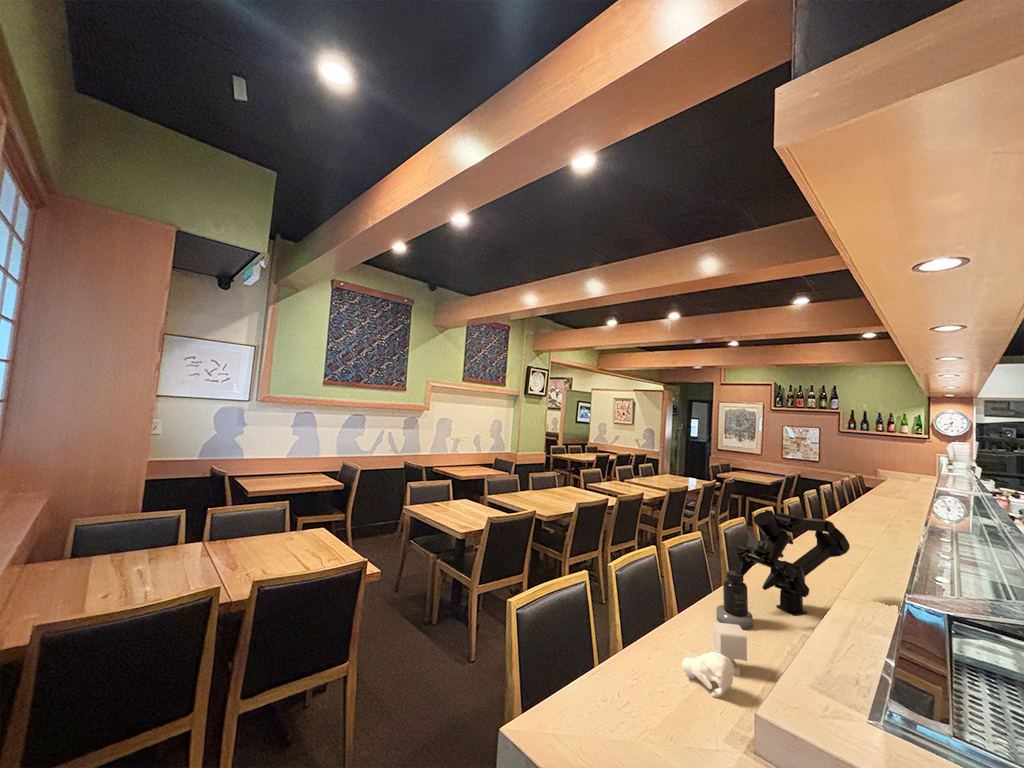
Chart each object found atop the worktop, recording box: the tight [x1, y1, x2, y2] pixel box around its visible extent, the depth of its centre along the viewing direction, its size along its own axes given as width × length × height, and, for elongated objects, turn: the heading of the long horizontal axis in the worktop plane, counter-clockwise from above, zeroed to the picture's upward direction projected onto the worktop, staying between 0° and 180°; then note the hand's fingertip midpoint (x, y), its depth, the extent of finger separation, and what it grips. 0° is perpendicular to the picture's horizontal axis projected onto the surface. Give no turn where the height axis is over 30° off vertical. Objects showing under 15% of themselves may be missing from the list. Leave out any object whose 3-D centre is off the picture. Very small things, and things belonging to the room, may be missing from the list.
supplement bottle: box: [722, 570, 749, 617], centre depth 133 cm, size 7×7×12 cm
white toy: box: [681, 651, 735, 699], centre depth 101 cm, size 6×8×12 cm
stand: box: [716, 604, 753, 631], centre depth 133 cm, size 10×10×3 cm
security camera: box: [713, 621, 748, 677], centre depth 108 cm, size 6×7×10 cm
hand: (750, 583), depth 136 cm, fingers open, 9 cm apart
